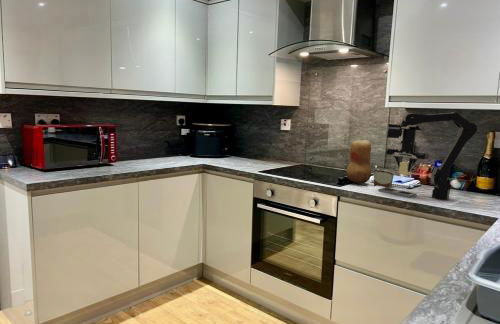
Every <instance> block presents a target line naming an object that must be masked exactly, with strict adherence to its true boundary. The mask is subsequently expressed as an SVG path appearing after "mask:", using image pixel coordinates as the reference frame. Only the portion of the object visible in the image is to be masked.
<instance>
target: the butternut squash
mask: <svg viewBox="0 0 500 324" xmlns="http://www.w3.org/2000/svg"><path fill="white" fill-rule="evenodd" d="M371 153H372V144H371V142H370V141H369V140H367V139H359V140H358V139H357V140H354V141H352V143H351V144H350V150H349V158H350V159H349V160H350V161H349V164H348V166H347V168H346V172H345V173H346V177H347V179H348V180H349V181H351V182H352V183H354V184H357V185H360V184H365V183H367V182H368V181H369V180H370V178H371V176H372V167H371Z"/></svg>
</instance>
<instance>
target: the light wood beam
mask: <svg viewBox="0 0 500 324" xmlns="http://www.w3.org/2000/svg"><path fill="white" fill-rule="evenodd" d="M408 168H409V161H402V162H400V167H398V170H399V171H398V175H403V176H410V175H411V173H412V172H411V171H412V170H411V171H410V172H409V170H408Z"/></svg>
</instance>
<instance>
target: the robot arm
mask: <svg viewBox="0 0 500 324" xmlns="http://www.w3.org/2000/svg"><path fill="white" fill-rule="evenodd" d="M449 121H451V122H452V123H453V124H454V125H455V126H456V127H457V128H458V130H457V135H456V138H455V141H454V142H453V144H452V145H451V147H450V149H449V151H448V152H447V155H446V156H445V157H444V159H443V161H442V163H441V165H439V166H438V167H437V166H434V168H433V171H432V172H430V180H431V181H432V183H434V186H433V189H432V193H431V198H432V199H436V200H438V201H439V200H441V201H448V200H450V193H451V188H452V185H451V184H450V183H449V182H448V179H449V176H450V171H451V168H452V167H453V164H455V162H456V160H457V158H458V156H459V155H460V153H461V152H462V150H463V148H464V147H465V145H466V143H467V142H468V141H469V140H470V139H472V137H474V135H476V133H477V131H478V127H477V125H476V123H474V122H470V121H468V119H466V118H465V117H464V116H462V115H460V114H459V112H457V111H456V112H455V111H454V112H453V111H451V112H443V113H429V114H425V113H416V112H415V113H414V112H410V113H406V114H405V115H404V118H403V120H402V121H401V122H400V123H399V124H392V123H388V125H387V128H386V132H385V133H386V134H385V136H386V138H387V139H399V138H401V137H402V138H401V140H400V144H401V146H400V149H398V148H387V149H386V152H385V155H388V156H389V155H390V156H392V157H393V158H394V159H395V161H396V164H397V167H398V168H399V167H400V162H403V159H404V156H408V157H409V159H408V160H409V161H408V162H409V168H408V170H409V172H410V171H412V169H413V167H414V165H415V164H416V162H417V161H419V160H427V159H429V157H430V154H429V152H424V151H419V150H420V147H419V146H418V145H417V144H416V143H417V142H416V135H417V134H416V133H417V131H421V130H422V129H421V128H420V126H419V125H420V124H424V123H431V122H435V123H436V122H449Z"/></svg>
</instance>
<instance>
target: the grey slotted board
mask: <svg viewBox="0 0 500 324" xmlns="http://www.w3.org/2000/svg"><path fill="white" fill-rule="evenodd" d="M377 192H379V193H384V194H388V195H389V194H390V195H393V196H398V197H403V198H408V199H410V198H411V199H412V198H414V197H418V193H416V192H412V191H406V190H400V189H397V188H392V187H391V188H388V187H382V188H378V190H377Z"/></svg>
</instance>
